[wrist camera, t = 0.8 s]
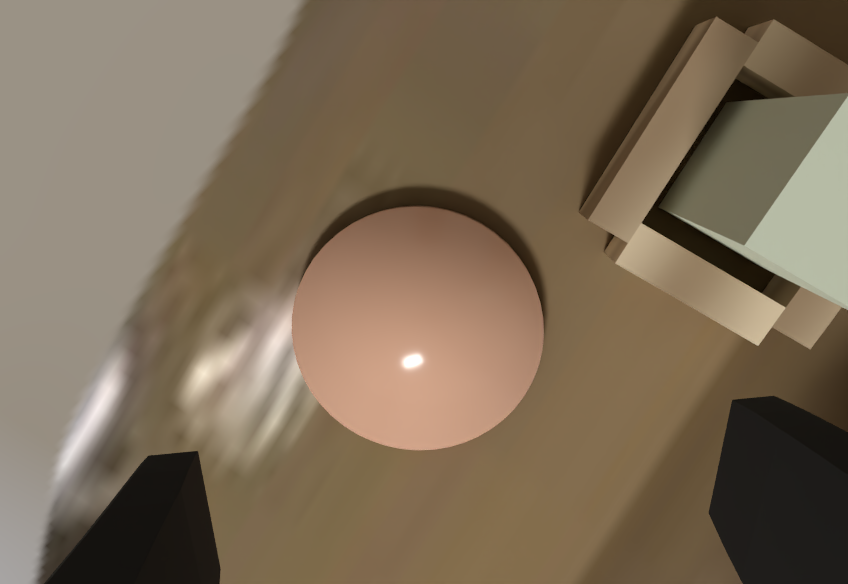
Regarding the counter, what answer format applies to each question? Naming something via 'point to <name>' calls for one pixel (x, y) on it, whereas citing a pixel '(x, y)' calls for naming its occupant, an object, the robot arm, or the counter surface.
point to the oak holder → (665, 149)
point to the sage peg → (775, 188)
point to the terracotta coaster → (418, 328)
